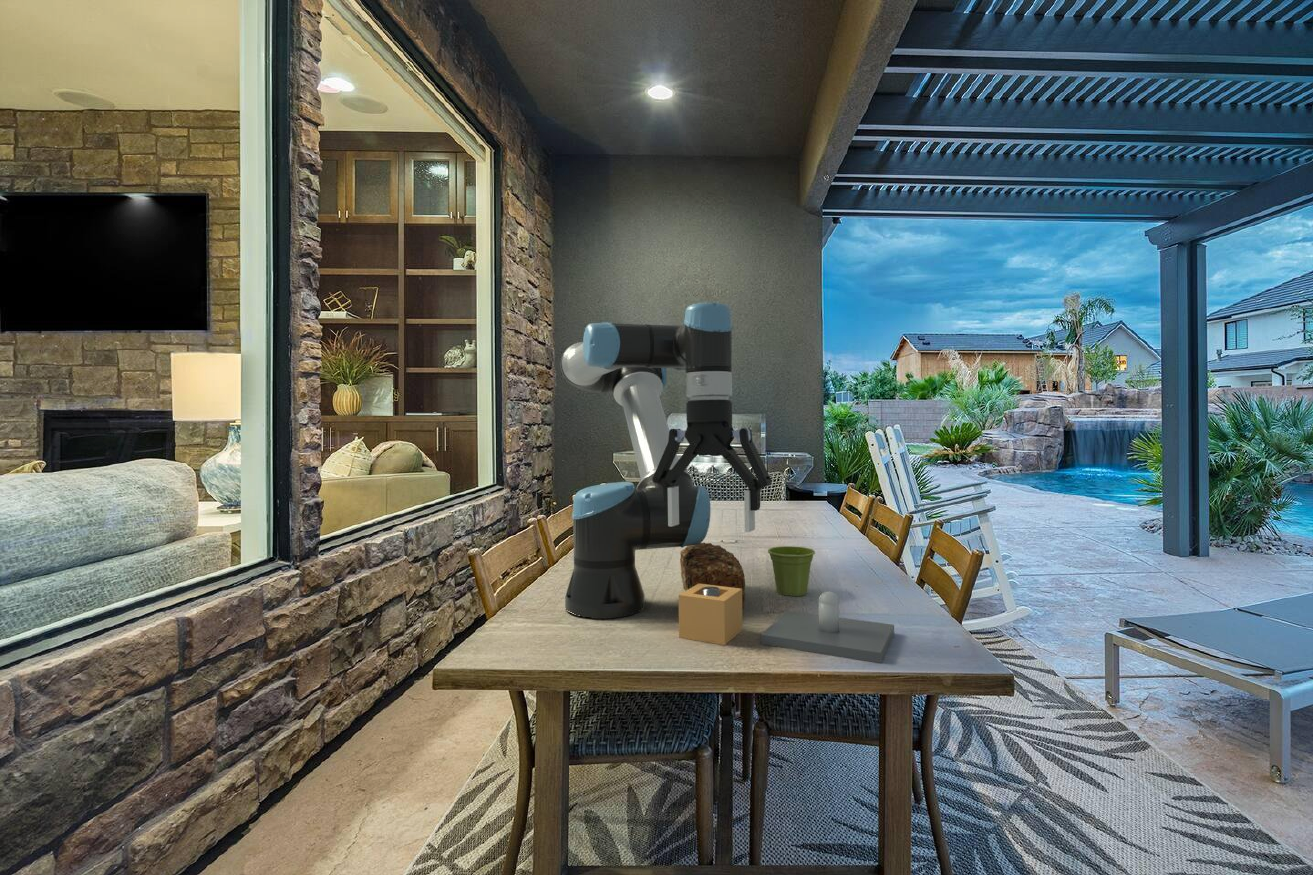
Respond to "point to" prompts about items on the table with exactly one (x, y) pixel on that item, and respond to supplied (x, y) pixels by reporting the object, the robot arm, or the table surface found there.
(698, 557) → the bread
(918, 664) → the table surface
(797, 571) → the plant pot
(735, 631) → the collar
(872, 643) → the board
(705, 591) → the shiny metal cylinder
